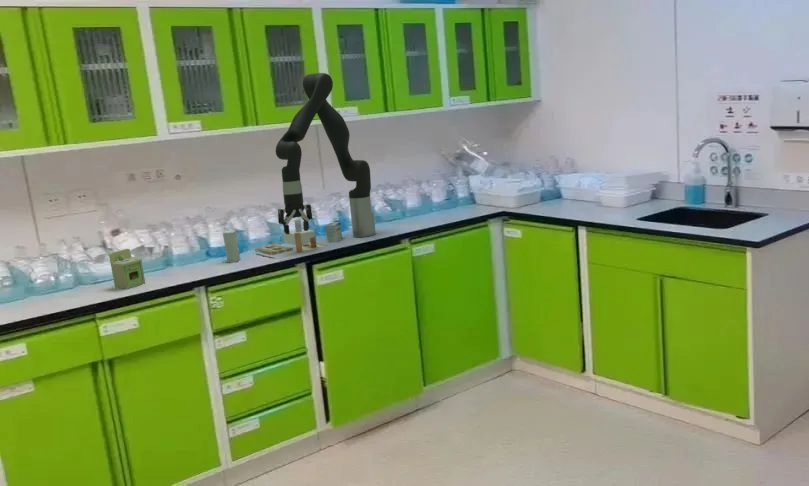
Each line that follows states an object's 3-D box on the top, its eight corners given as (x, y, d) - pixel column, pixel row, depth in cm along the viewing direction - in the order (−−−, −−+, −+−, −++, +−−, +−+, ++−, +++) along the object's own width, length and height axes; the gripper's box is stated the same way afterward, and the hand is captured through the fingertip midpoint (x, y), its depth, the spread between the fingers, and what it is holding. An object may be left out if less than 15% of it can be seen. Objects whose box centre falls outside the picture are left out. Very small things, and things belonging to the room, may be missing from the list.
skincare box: (237, 261, 304) (233, 232, 301) (226, 262, 304) (222, 233, 301) (240, 258, 310) (236, 229, 307) (229, 259, 310) (225, 230, 307)
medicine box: (337, 245, 319) (335, 225, 317) (327, 245, 320) (325, 225, 318) (342, 241, 327) (340, 221, 325) (332, 241, 327) (330, 222, 326)
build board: (276, 249, 321) (276, 243, 320) (293, 253, 310) (293, 247, 309) (255, 254, 315) (254, 248, 314) (272, 258, 304) (271, 252, 303)
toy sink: (126, 289, 273) (120, 254, 270) (114, 288, 277) (108, 253, 275) (146, 283, 280) (141, 248, 277) (134, 282, 284) (128, 247, 281)
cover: (302, 241, 333) (299, 217, 331) (316, 244, 325) (313, 219, 323) (284, 245, 328) (281, 220, 326) (297, 248, 320) (294, 222, 317)
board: (313, 245, 322) (311, 233, 321) (328, 249, 313) (326, 235, 312) (292, 250, 316) (291, 237, 315) (307, 253, 307) (306, 240, 306)
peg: (301, 254, 308) (298, 232, 306) (304, 254, 306) (301, 232, 304) (295, 255, 306) (293, 233, 304) (298, 256, 304) (296, 234, 303)
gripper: (281, 195, 294) (286, 236, 297) (313, 190, 302) (317, 230, 305) (272, 194, 299) (276, 234, 303) (303, 189, 308) (307, 228, 311)
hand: (297, 232), depth 304 cm, fingers open, 8 cm apart
